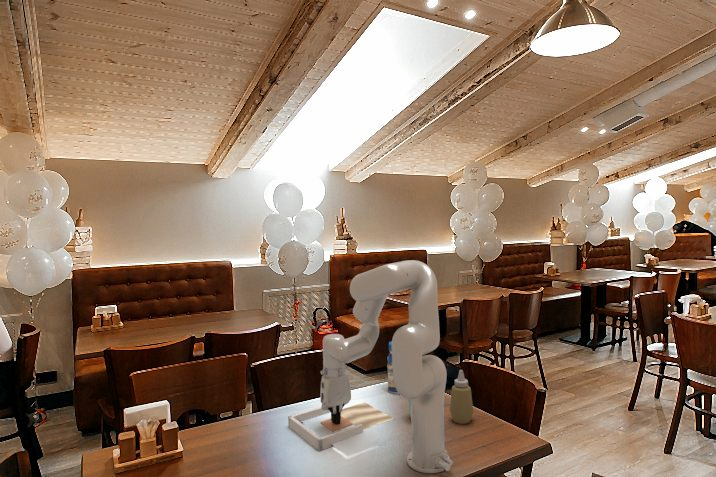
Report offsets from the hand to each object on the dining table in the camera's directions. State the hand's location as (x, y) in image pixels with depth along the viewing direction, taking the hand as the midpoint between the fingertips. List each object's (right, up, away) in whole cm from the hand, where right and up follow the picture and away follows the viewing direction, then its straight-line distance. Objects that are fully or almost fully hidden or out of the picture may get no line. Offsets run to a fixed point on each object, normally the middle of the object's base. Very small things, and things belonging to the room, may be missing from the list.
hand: (336, 422), depth 165 cm
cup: (+29, -1, +3) cm, 29 cm away
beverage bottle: (+24, +1, +31) cm, 39 cm away
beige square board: (+10, -1, +7) cm, 12 cm away
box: (-4, -2, -2) cm, 5 cm away
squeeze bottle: (+44, 0, +3) cm, 44 cm away
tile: (0, -2, 0) cm, 2 cm away
